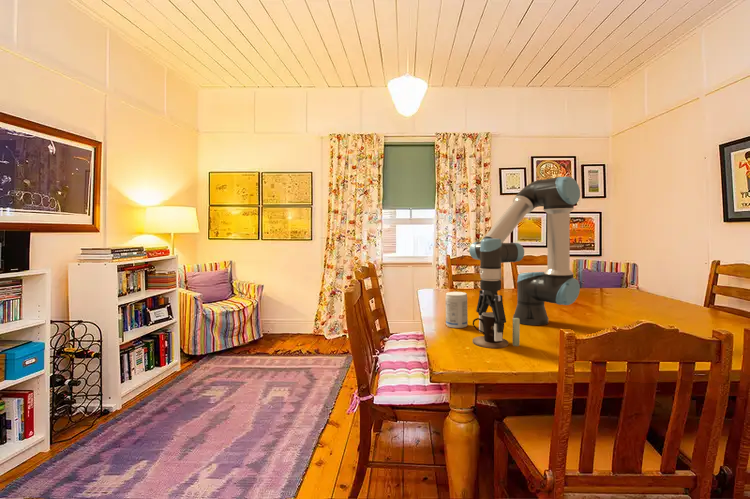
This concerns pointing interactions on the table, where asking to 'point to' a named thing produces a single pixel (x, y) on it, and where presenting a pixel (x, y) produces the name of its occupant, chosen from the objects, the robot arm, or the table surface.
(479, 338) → the walnut base
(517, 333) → the dowel
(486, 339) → the coffee mug
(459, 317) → the supplement tub
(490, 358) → the table surface
